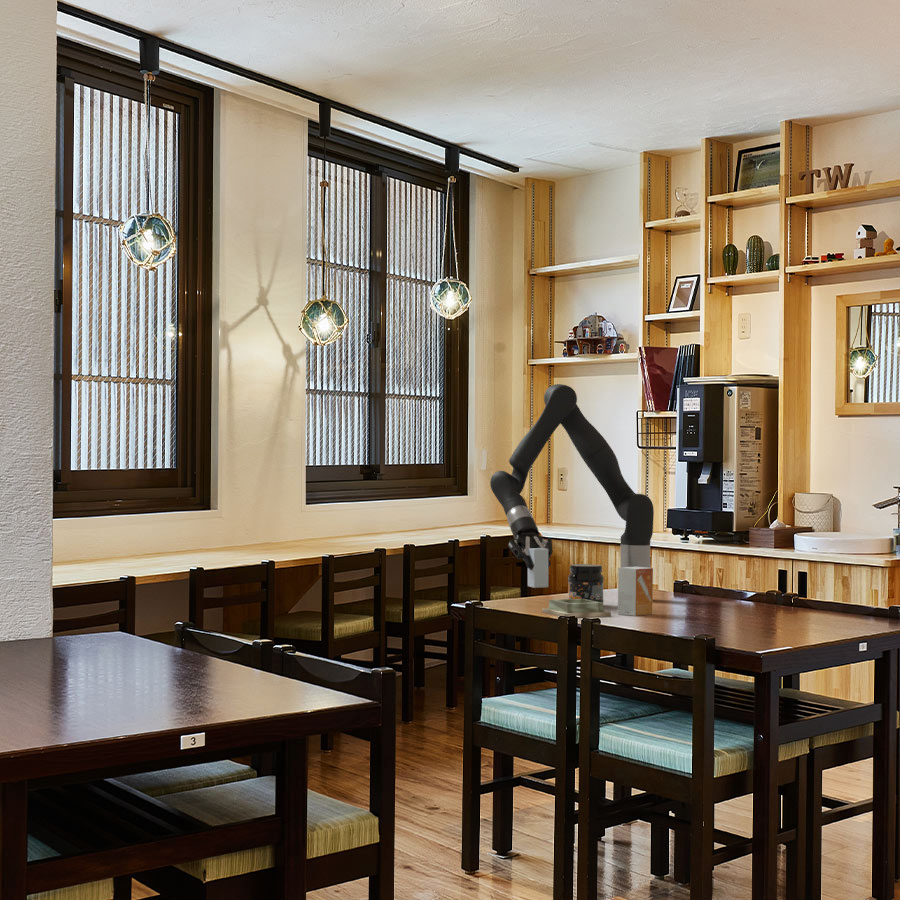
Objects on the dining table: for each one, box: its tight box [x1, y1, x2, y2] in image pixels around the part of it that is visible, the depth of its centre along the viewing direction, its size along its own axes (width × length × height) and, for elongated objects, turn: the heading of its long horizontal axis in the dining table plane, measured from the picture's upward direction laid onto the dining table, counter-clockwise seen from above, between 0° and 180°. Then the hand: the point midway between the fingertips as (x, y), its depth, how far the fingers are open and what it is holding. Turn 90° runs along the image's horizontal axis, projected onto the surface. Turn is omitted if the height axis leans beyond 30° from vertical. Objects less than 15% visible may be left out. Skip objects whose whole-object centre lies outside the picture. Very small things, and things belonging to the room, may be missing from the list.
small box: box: [617, 567, 654, 617], centre depth 304 cm, size 8×6×13 cm
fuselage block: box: [527, 547, 549, 589], centre depth 317 cm, size 4×4×11 cm
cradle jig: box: [541, 598, 612, 618], centre depth 303 cm, size 14×14×4 cm
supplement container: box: [567, 563, 605, 604], centre depth 324 cm, size 10×10×12 cm
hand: (540, 567), depth 315 cm, fingers closed on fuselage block, 4 cm apart
